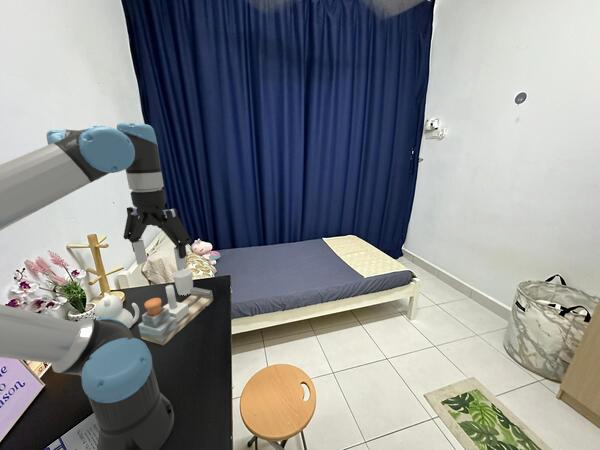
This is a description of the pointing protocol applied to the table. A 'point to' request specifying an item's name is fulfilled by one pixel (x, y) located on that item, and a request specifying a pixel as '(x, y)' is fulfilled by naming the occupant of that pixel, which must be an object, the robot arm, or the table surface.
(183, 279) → the white cup
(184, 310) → the carriage
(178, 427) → the table surface
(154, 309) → the plunger
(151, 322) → the rail board
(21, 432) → the table surface
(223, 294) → the table surface
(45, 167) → the robot arm
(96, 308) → the cat figurine
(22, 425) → the table surface
